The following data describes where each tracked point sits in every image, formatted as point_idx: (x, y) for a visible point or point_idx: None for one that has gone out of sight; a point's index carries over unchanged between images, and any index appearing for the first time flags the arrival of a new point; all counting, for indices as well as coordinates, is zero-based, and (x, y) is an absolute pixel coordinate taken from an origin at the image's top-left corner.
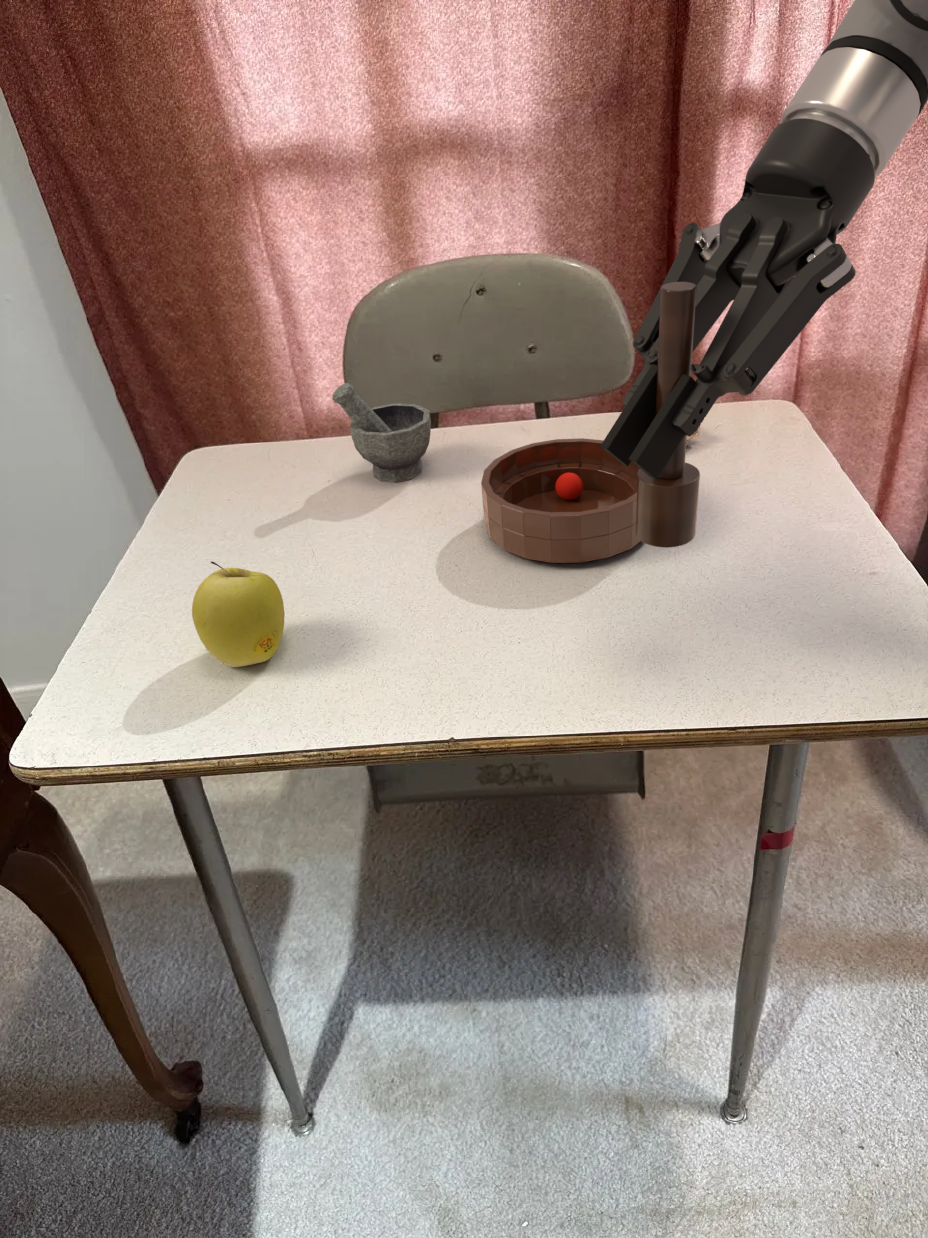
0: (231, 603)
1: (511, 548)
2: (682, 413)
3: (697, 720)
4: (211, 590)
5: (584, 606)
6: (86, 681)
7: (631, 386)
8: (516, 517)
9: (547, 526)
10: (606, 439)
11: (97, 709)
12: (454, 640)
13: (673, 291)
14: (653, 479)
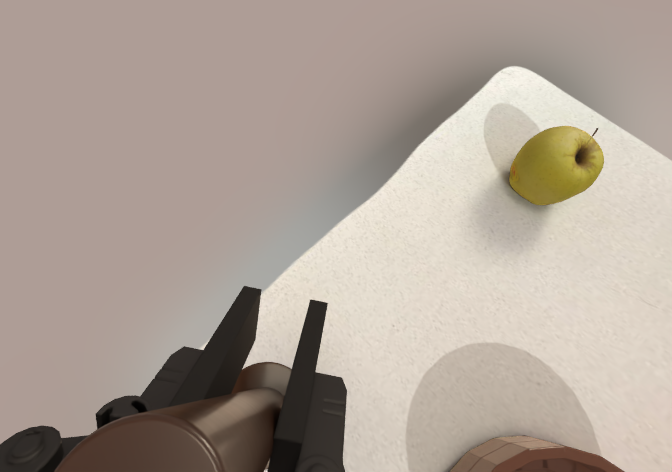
0: (546, 136)
1: (517, 437)
2: (183, 366)
3: None
4: (568, 128)
5: (389, 414)
6: (569, 109)
7: (344, 411)
8: (532, 445)
9: (492, 459)
10: (322, 310)
11: (535, 102)
12: (435, 292)
13: (122, 419)
14: (272, 378)
